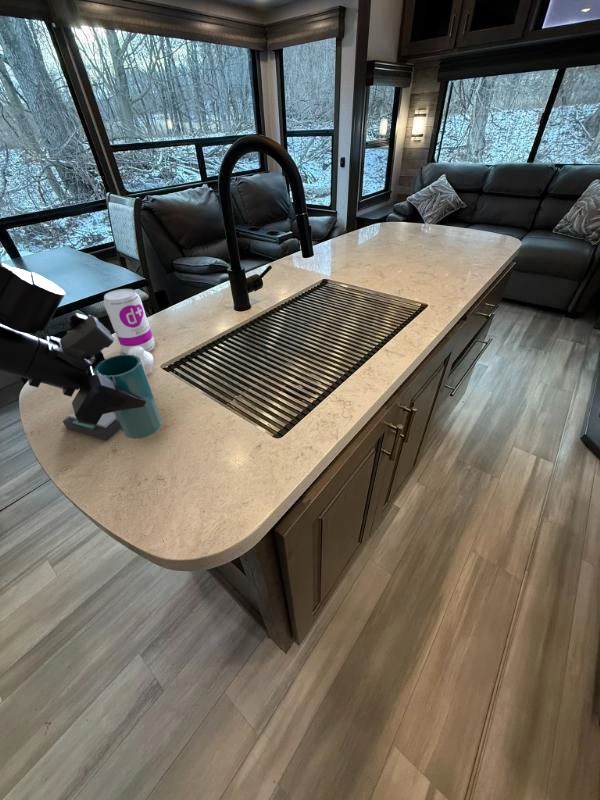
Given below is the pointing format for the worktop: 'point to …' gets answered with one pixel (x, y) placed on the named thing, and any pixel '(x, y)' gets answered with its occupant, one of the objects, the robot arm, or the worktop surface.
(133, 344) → the supplement can
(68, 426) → the scale
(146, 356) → the white frosted cupcake
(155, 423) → the cup
